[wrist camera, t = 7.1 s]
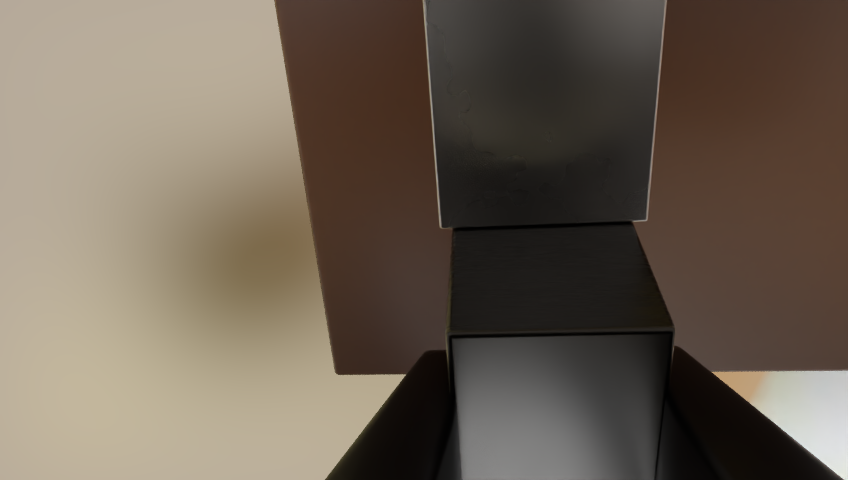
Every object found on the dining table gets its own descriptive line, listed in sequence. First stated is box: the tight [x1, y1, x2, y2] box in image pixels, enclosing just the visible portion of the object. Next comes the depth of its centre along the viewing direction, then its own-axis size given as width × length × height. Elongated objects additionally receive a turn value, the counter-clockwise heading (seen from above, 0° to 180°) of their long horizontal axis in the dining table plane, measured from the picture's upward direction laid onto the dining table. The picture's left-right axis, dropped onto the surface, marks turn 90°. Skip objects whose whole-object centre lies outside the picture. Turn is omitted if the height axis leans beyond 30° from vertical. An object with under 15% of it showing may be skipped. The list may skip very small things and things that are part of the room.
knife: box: [422, 0, 676, 480], centre depth 7 cm, size 21×2×2 cm, turn 4°
